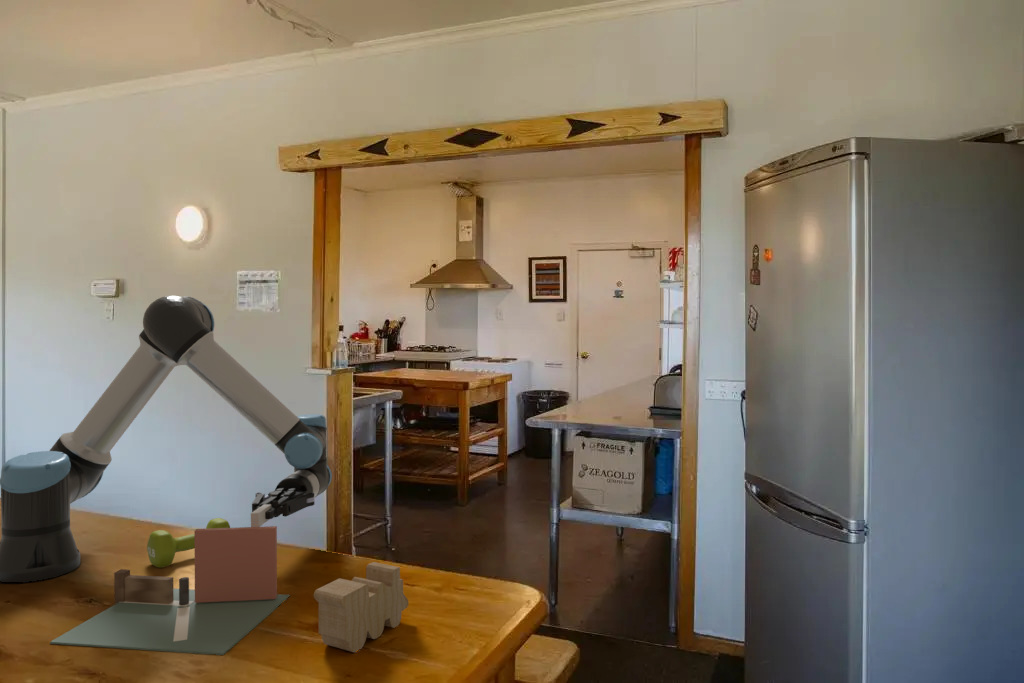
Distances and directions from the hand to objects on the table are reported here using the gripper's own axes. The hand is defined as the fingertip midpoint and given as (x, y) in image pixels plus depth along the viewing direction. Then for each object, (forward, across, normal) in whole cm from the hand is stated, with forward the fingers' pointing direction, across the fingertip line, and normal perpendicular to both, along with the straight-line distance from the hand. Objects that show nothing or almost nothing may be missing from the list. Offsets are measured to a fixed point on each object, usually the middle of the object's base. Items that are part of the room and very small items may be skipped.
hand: (254, 520), depth 134 cm
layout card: (+13, +8, -13) cm, 20 cm away
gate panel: (+6, +1, -13) cm, 14 cm away
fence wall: (+7, +16, -13) cm, 22 cm away
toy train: (+18, -25, -14) cm, 34 cm away
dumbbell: (-18, +22, -14) cm, 31 cm away
